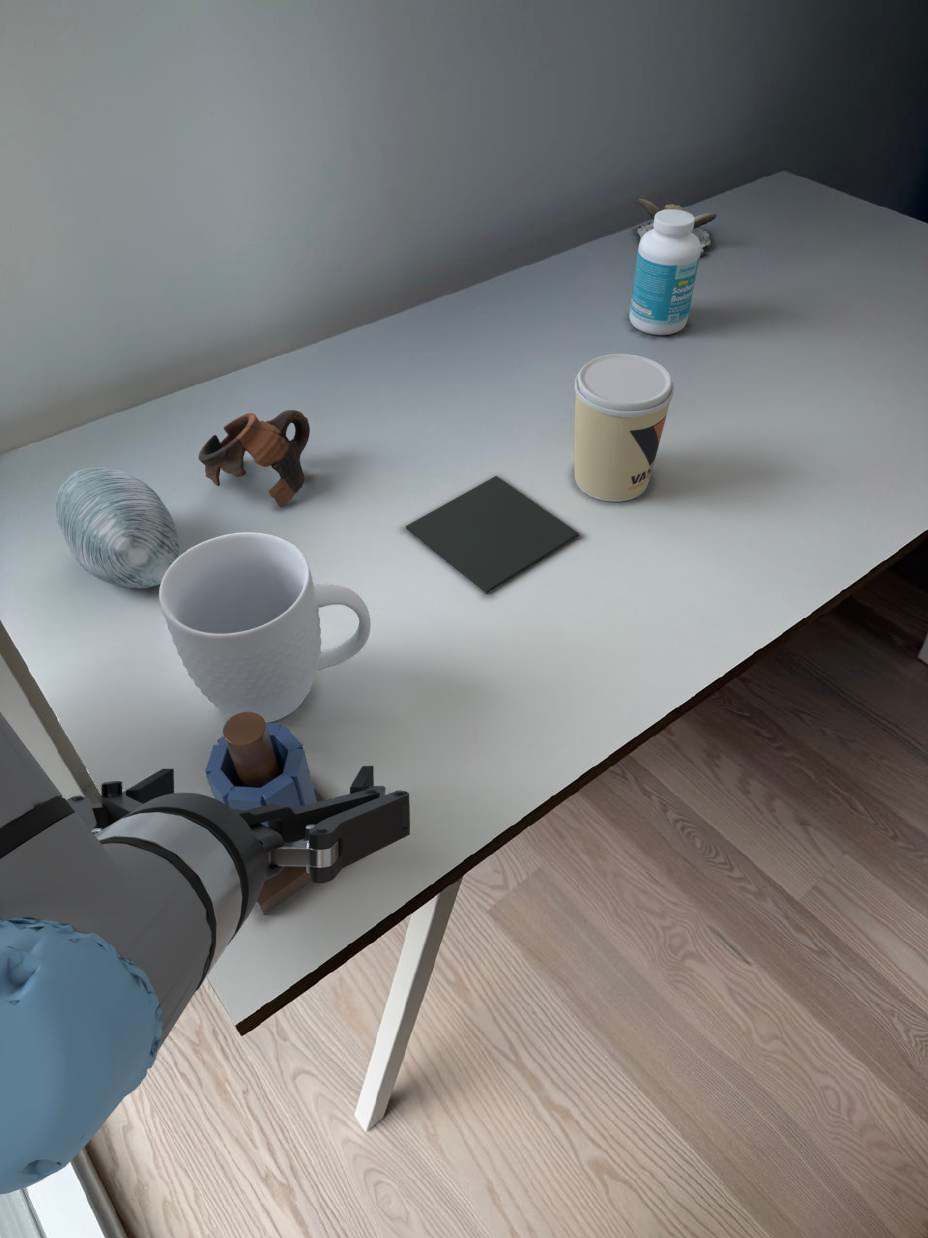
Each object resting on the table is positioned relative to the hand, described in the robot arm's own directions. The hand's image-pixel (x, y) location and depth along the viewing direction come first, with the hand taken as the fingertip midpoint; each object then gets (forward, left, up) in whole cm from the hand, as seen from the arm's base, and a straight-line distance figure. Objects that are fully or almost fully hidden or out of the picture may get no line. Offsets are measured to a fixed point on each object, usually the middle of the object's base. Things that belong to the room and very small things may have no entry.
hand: (268, 786), depth 61 cm
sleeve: (0, -1, -5) cm, 5 cm away
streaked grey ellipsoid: (-35, +5, -7) cm, 36 cm away
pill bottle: (-31, +76, -7) cm, 83 cm away
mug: (-12, +7, -7) cm, 15 cm away
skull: (-45, +97, -7) cm, 107 cm away
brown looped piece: (-37, +22, -7) cm, 43 cm away
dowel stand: (0, -1, -6) cm, 6 cm away
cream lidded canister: (-13, +48, -7) cm, 51 cm away
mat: (-15, +33, -6) cm, 37 cm away
